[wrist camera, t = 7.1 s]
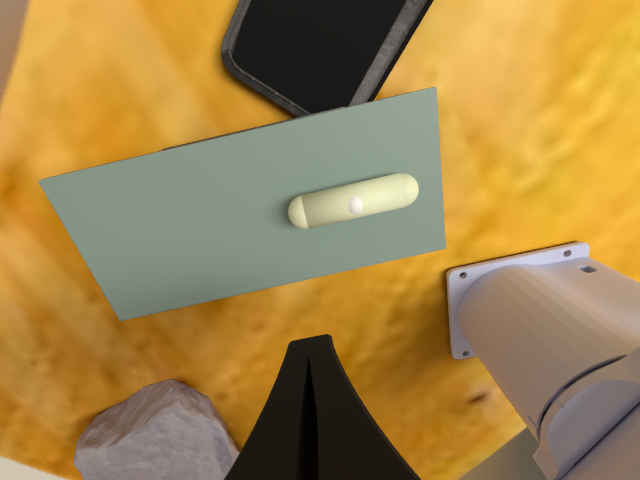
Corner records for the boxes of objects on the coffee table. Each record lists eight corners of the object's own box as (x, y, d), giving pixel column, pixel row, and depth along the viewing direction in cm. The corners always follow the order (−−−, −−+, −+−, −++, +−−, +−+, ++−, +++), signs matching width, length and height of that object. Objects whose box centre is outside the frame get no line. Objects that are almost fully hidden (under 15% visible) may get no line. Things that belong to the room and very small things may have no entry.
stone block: (185, 350, 25) (79, 418, 25) (173, 396, 21) (45, 480, 20) (265, 428, 30) (178, 486, 30) (270, 478, 25) (167, 548, 25)
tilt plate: (418, 90, 13) (454, 83, 10) (430, 233, 16) (461, 262, 13) (70, 171, 14) (3, 189, 11) (138, 299, 17) (101, 342, 13)
